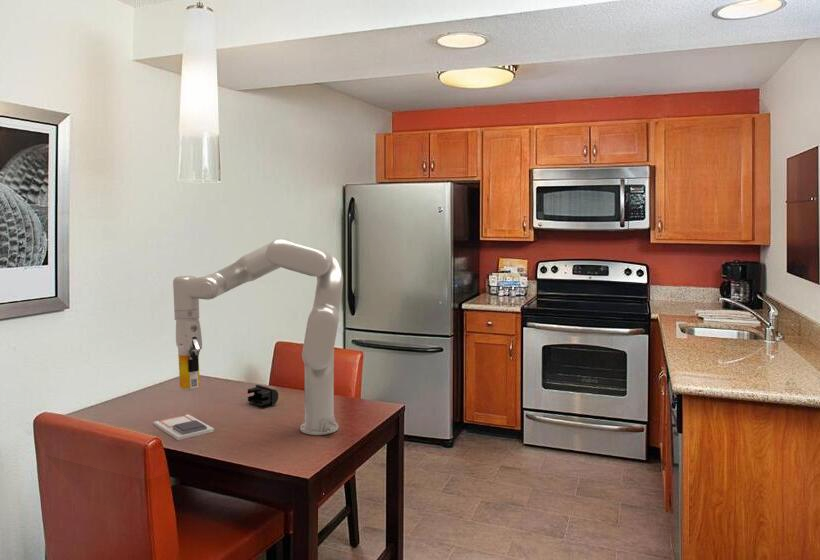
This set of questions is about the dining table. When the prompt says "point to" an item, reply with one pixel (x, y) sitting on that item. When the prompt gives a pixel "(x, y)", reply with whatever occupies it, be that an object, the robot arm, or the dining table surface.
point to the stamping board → (183, 427)
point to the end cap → (262, 397)
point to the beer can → (187, 378)
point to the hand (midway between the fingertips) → (189, 369)
